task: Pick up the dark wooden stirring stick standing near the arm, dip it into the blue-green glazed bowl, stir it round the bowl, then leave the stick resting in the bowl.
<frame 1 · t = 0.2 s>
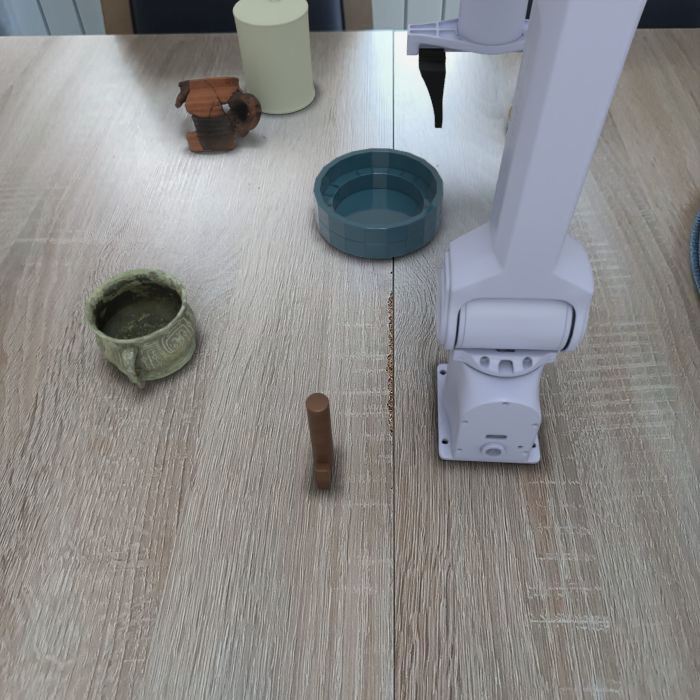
hand: (477, 123, 65), 10 cm above the table, tool pointing down, fingers open, 7 cm apart
stirring stick: (325, 472, 52), on the table
pottery mug: (224, 134, 83), on the table
vessel: (155, 350, 61), on the table
can: (281, 97, 88), on the table
bowl: (378, 219, 71), on the table
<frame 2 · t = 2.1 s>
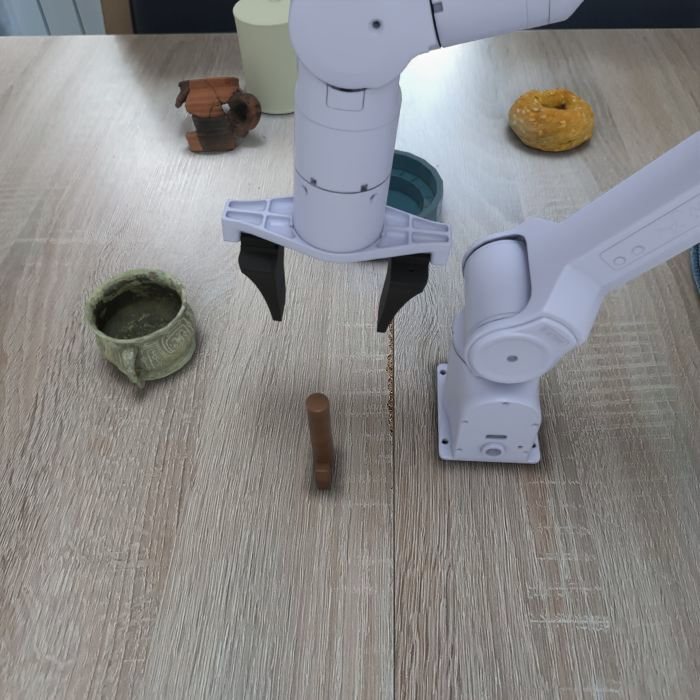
hand: (330, 316, 49), 10 cm above the table, tool pointing down, fingers open, 7 cm apart
nothing on the table moved.
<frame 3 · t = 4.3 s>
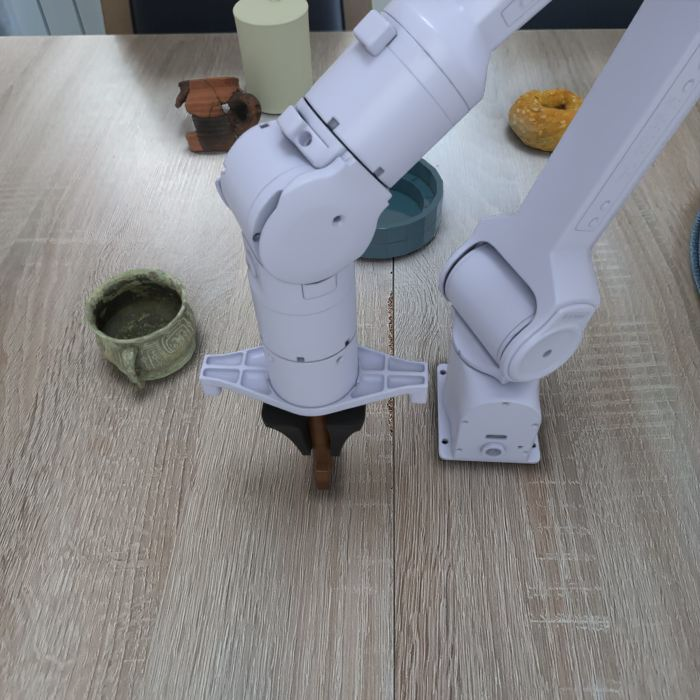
hand: (322, 444, 49), 4 cm above the table, tool pointing down, fingers closed on stirring stick, 1 cm apart
stirring stick: (325, 472, 52), on the table, touching gripper
everything else where it was.
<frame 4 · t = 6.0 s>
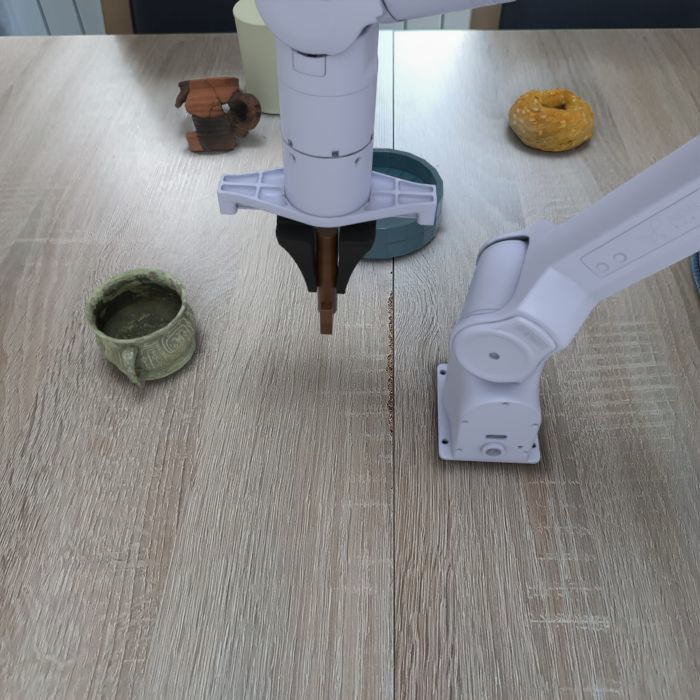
hand: (327, 283, 51), 10 cm above the table, tool pointing down, fingers closed on stirring stick
stirring stick: (327, 320, 54), point 6 cm above the table, touching gripper
everything else where it was.
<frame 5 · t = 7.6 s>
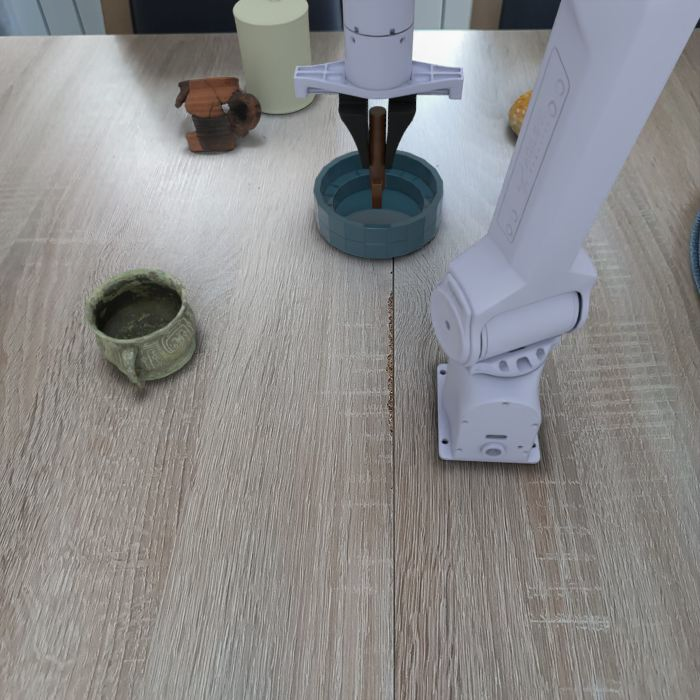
hand: (377, 163, 63), 9 cm above the table, tool pointing down, fingers closed on stirring stick
stirring stick: (377, 199, 67), point 4 cm above the table, touching gripper
everything else where it was.
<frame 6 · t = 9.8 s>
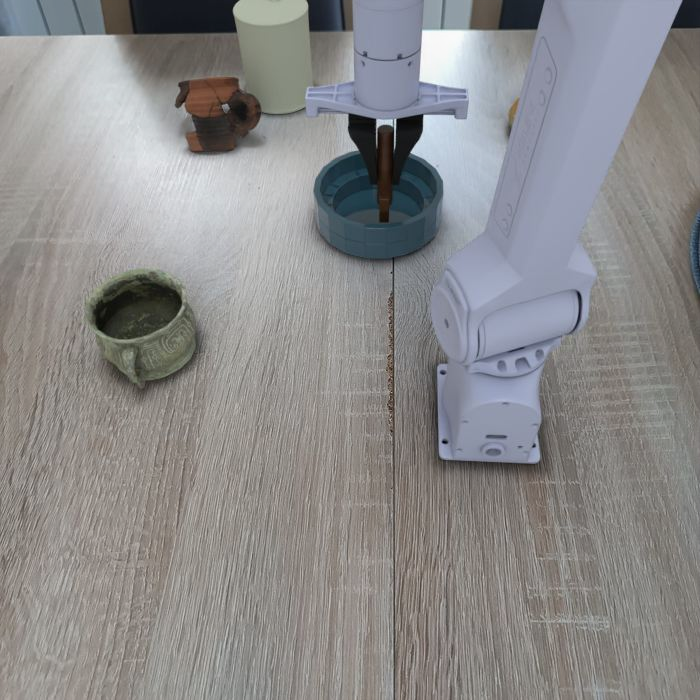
hand: (385, 178, 66), 6 cm above the table, tool pointing down, fingers closed on stirring stick, 1 cm apart
stirring stick: (384, 213, 69), point 2 cm above the table, touching gripper
everything else where it was.
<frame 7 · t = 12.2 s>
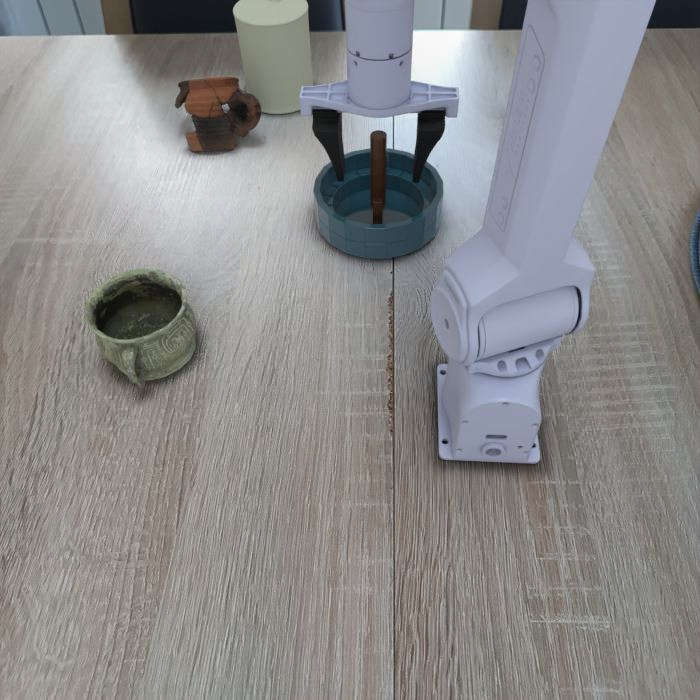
hand: (378, 176, 67), 6 cm above the table, tool pointing down, fingers open, 7 cm apart
stirring stick: (377, 215, 71), resting on bowl
everything else where it was.
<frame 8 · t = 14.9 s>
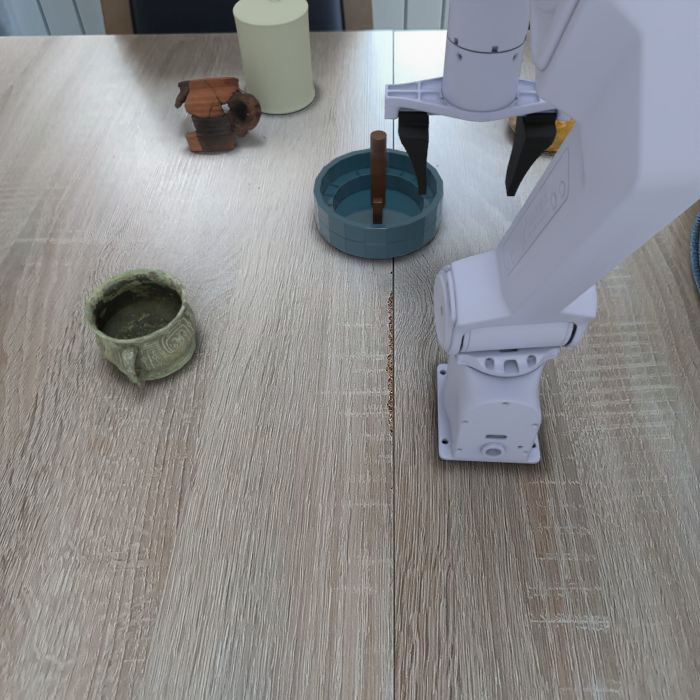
hand: (465, 188, 58), 10 cm above the table, tool pointing down, fingers open, 7 cm apart
nothing on the table moved.
at the end: stirring stick inside the target area in the bowl (0.0 cm from its centre), point 0.5 cm above the bowl's base; stirring stick moved 31.2 cm from its start; the gripper is holding nothing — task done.
